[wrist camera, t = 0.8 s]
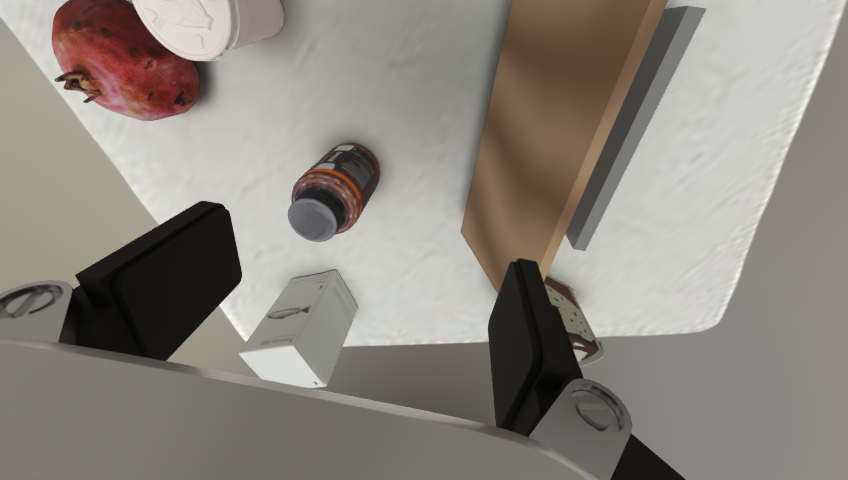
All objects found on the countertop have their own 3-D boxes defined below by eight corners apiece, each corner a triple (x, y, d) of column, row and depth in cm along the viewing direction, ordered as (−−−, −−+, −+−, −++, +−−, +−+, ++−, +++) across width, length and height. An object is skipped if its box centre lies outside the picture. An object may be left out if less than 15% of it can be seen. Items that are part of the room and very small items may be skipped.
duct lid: (527, -18, 21) (517, -21, 21) (687, -43, 12) (670, -47, 12) (467, 231, 32) (460, 231, 32) (526, 322, 23) (516, 323, 23)
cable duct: (519, -11, 25) (527, -18, 21) (673, 12, 25) (706, 8, 21) (467, 213, 36) (467, 231, 32) (573, 230, 36) (585, 250, 32)
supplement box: (337, 267, 42) (294, 345, 32) (359, 307, 46) (328, 389, 35) (289, 277, 44) (235, 353, 33) (315, 314, 48) (272, 394, 37)
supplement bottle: (334, 131, 32) (281, 172, 23) (388, 156, 33) (359, 205, 24) (321, 181, 36) (269, 234, 26) (371, 202, 36) (338, 262, 27)
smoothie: (236, -59, 25) (37, -140, 13) (310, -2, 26) (190, -30, 15) (217, 23, 28) (43, 16, 17) (284, 70, 30) (168, 93, 18)
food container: (468, 281, 41) (470, 344, 33) (496, 247, 38) (506, 308, 30) (545, 319, 43) (565, 387, 35) (578, 290, 40) (608, 358, 32)
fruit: (152, -28, 27) (10, -56, 18) (237, 81, 31) (153, 99, 22) (97, 37, 30) (-45, 38, 22) (181, 128, 34) (89, 159, 26)
